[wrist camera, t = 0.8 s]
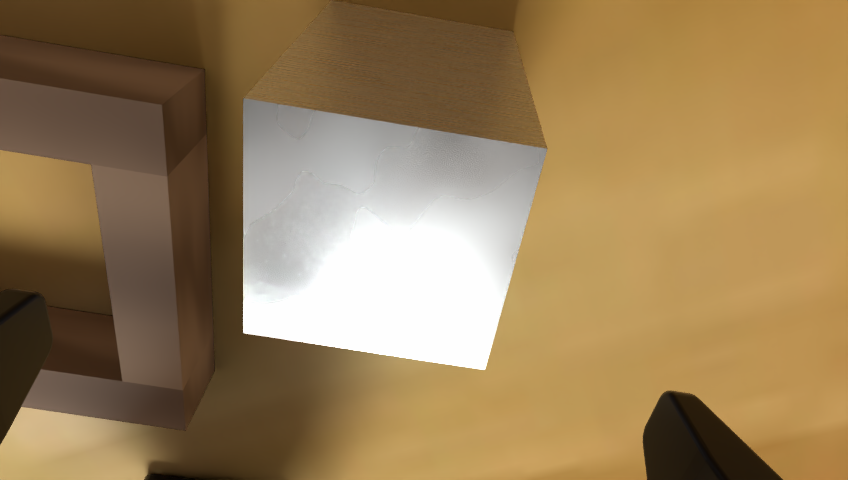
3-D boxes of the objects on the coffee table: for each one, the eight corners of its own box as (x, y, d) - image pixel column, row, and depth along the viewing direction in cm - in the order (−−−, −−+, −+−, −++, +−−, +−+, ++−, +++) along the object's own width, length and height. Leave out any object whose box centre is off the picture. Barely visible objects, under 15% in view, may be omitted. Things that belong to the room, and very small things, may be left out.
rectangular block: (476, 191, 20) (485, 369, 13) (319, 165, 19) (243, 332, 13) (513, 31, 17) (547, 149, 10) (331, -1, 17) (243, 98, 10)
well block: (215, 370, 24) (185, 430, 22) (-98, 323, 24) (-165, 379, 21) (204, 69, 18) (161, 104, 15) (-221, -3, 17) (-339, 22, 15)
